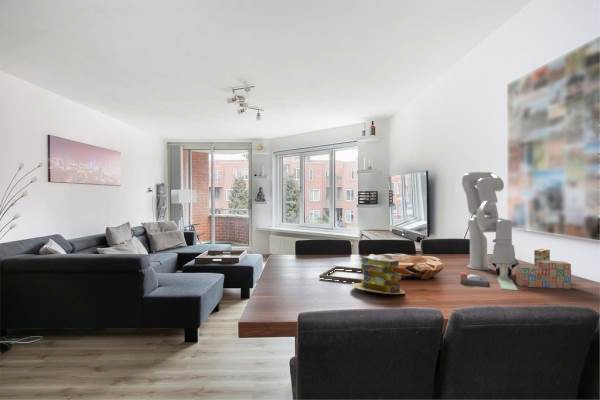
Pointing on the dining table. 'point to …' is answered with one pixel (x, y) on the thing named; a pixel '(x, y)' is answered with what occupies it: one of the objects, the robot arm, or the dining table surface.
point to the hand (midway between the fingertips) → (503, 275)
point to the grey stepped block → (473, 282)
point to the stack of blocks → (545, 274)
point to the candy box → (541, 255)
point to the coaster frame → (324, 275)
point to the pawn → (503, 271)
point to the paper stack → (379, 275)
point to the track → (507, 284)
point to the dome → (474, 277)
